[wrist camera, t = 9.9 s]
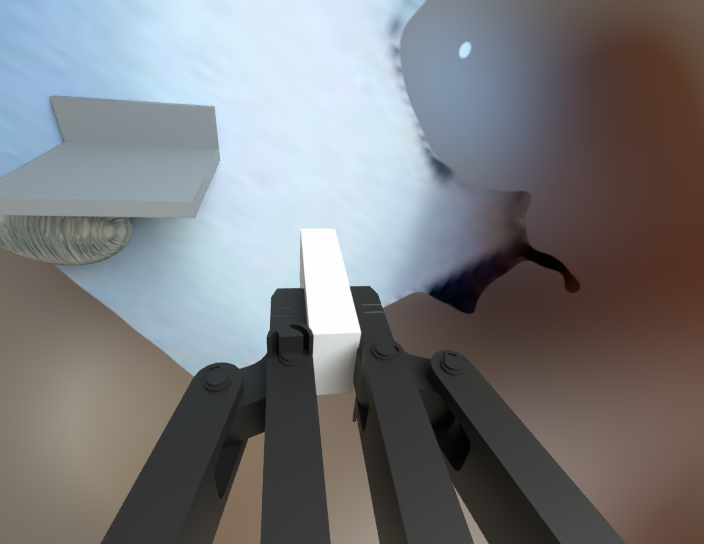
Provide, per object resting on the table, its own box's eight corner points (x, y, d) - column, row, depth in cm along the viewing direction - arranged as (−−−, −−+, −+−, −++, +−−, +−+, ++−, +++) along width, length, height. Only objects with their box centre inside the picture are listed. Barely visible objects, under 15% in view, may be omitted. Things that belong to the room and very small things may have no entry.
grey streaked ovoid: (-6, 253, 44) (-40, 264, 35) (-1, 171, 43) (-35, 163, 34) (128, 263, 51) (127, 275, 42) (135, 193, 50) (135, 191, 41)
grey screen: (53, 95, 39) (-63, 135, 26) (214, 106, 42) (183, 147, 29) (72, 153, 42) (-23, 214, 29) (219, 159, 45) (194, 217, 32)
